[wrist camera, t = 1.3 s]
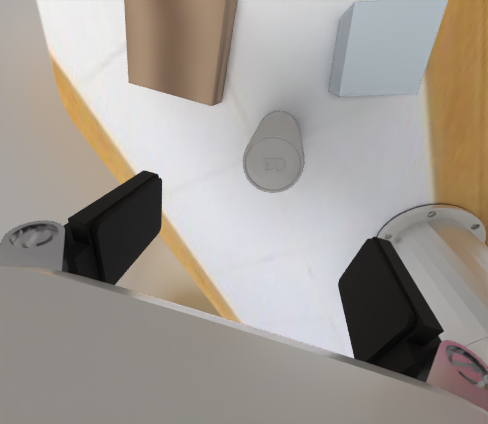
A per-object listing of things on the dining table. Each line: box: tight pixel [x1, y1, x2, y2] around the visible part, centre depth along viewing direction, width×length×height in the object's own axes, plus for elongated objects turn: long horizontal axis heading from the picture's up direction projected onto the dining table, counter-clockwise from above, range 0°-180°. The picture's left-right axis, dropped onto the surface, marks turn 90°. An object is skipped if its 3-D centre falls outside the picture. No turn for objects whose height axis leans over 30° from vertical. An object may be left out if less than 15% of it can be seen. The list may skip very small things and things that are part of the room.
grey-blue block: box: [329, 0, 448, 96], centre depth 19 cm, size 6×6×6 cm
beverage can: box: [243, 111, 305, 193], centre depth 22 cm, size 5×5×12 cm
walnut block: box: [124, 0, 237, 106], centre depth 22 cm, size 9×9×4 cm
